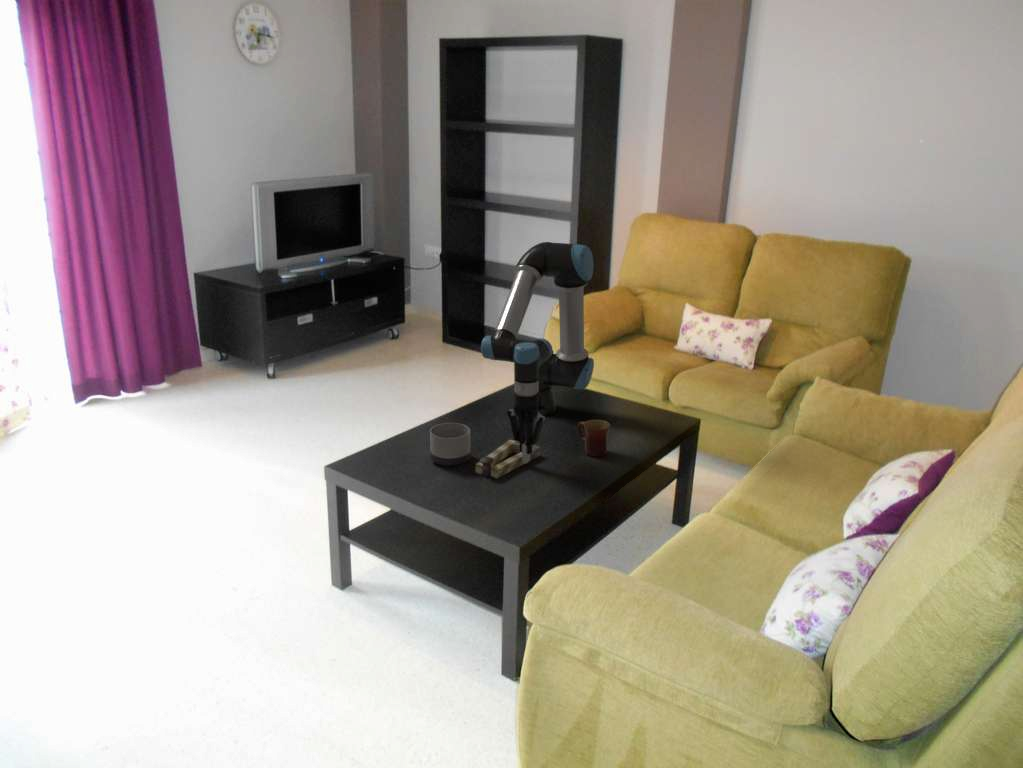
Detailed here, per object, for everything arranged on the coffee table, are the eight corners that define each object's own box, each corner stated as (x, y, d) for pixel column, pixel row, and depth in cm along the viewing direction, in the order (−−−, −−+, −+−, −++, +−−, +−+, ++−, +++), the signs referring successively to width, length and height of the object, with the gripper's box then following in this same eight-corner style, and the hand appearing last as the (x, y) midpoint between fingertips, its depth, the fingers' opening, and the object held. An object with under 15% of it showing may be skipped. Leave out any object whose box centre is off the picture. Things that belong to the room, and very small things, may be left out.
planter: (424, 465, 267) (423, 435, 263) (440, 449, 278) (440, 420, 275) (460, 471, 263) (460, 440, 259) (476, 455, 274) (476, 426, 271)
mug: (614, 453, 277) (615, 424, 273) (598, 461, 271) (599, 432, 267) (585, 442, 284) (586, 414, 281) (569, 450, 278) (570, 422, 275)
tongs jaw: (497, 478, 257) (497, 469, 256) (490, 476, 259) (490, 467, 258) (539, 455, 274) (540, 447, 273) (533, 453, 275) (533, 445, 274)
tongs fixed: (489, 479, 257) (489, 463, 255) (472, 475, 260) (472, 458, 258) (525, 451, 277) (526, 436, 275) (509, 447, 280) (509, 432, 278)
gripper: (502, 392, 258) (502, 462, 266) (539, 400, 252) (538, 470, 260) (513, 385, 264) (513, 453, 272) (550, 392, 258) (549, 461, 266)
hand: (525, 461), depth 266 cm, fingers closed
